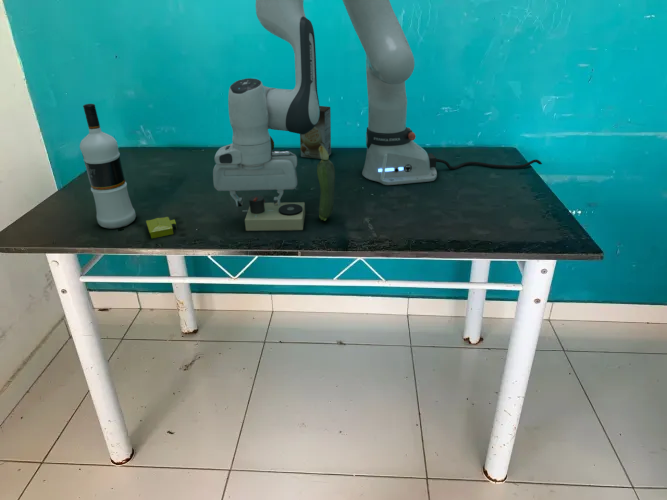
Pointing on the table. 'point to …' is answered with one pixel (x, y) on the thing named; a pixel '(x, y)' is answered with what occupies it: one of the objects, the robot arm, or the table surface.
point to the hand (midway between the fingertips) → (258, 205)
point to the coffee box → (317, 136)
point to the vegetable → (325, 184)
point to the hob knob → (257, 204)
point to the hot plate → (274, 219)
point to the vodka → (105, 175)
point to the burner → (290, 209)
